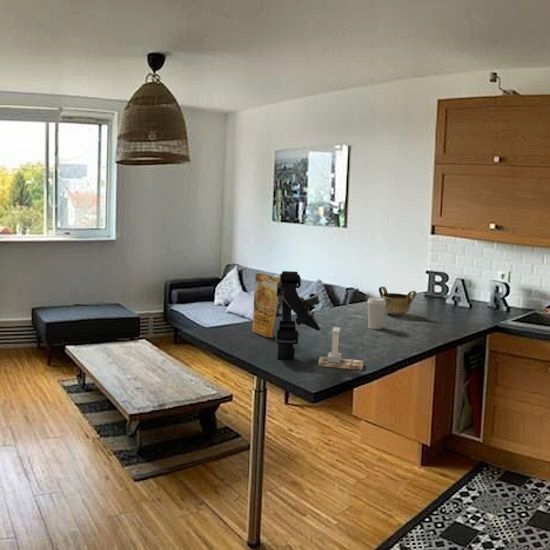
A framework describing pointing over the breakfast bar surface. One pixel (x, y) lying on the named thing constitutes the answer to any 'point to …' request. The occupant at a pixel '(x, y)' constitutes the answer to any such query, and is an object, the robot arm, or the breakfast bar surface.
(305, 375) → the breakfast bar surface
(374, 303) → the coffee cup
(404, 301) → the basket with handles
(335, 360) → the fader tab
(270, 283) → the pancake mix bag
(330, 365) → the fader console
